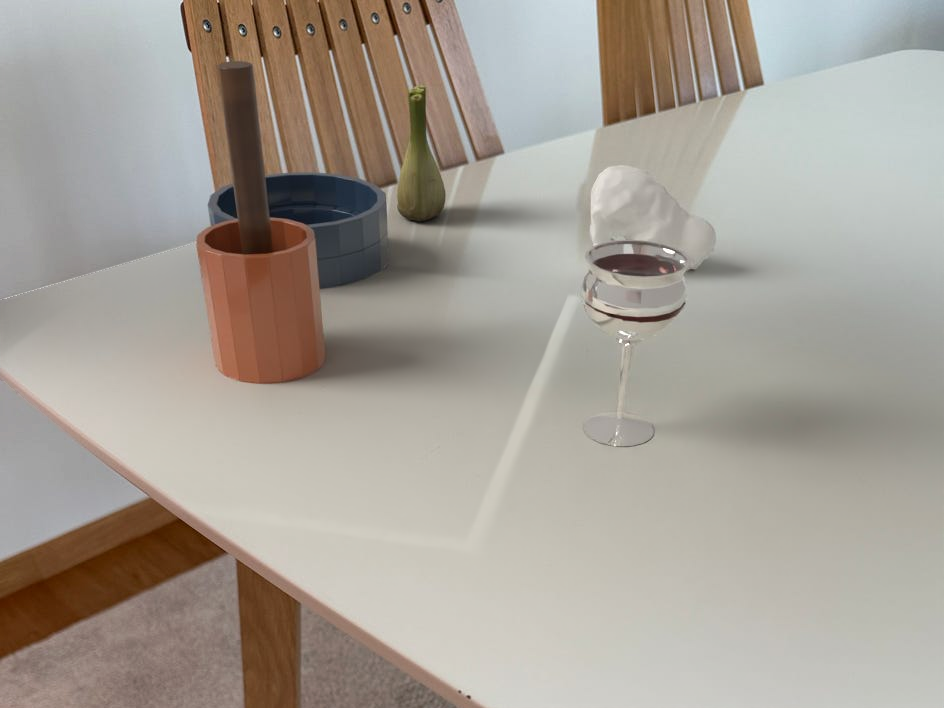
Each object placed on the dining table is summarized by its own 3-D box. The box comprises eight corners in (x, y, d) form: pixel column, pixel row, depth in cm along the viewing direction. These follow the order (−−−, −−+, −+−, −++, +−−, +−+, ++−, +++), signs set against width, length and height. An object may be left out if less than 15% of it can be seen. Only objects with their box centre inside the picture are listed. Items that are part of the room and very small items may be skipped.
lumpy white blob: (598, 153, 95) (729, 174, 94) (582, 246, 100) (705, 267, 100) (593, 173, 90) (731, 195, 90) (577, 270, 96) (706, 292, 95)
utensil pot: (199, 386, 77) (176, 250, 71) (242, 341, 84) (224, 212, 77) (304, 398, 76) (290, 261, 70) (340, 352, 82) (330, 222, 76)
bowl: (189, 288, 92) (178, 218, 88) (256, 230, 104) (249, 166, 100) (359, 306, 89) (354, 235, 86) (408, 244, 101) (406, 179, 97)
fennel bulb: (415, 205, 110) (412, 79, 103) (456, 213, 109) (456, 85, 101) (387, 221, 106) (381, 91, 99) (429, 229, 105) (427, 97, 97)
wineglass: (583, 400, 77) (597, 234, 69) (674, 414, 75) (699, 246, 67) (559, 443, 72) (572, 269, 64) (657, 460, 70) (682, 284, 62)
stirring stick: (249, 363, 79) (209, 66, 66) (260, 351, 80) (223, 59, 68) (281, 366, 78) (247, 69, 66) (292, 354, 80) (260, 62, 67)
